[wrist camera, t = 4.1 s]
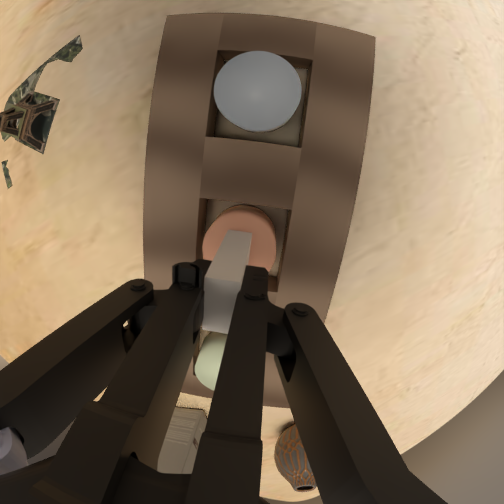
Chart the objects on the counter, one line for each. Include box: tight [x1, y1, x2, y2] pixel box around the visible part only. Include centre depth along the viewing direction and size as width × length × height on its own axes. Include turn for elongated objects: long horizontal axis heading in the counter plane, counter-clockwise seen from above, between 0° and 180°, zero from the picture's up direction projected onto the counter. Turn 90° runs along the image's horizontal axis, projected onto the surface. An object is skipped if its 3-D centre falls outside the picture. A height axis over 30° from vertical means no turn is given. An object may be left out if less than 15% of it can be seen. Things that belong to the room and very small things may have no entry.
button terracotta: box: [202, 205, 276, 272], centre depth 20 cm, size 5×5×3 cm
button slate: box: [214, 51, 302, 133], centre depth 15 cm, size 5×5×3 cm
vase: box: [274, 424, 317, 492], centre depth 26 cm, size 7×7×9 cm
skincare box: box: [157, 407, 207, 474], centre depth 24 cm, size 8×7×16 cm
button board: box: [143, 13, 375, 408], centre depth 20 cm, size 32×14×2 cm, turn 173°
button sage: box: [195, 332, 228, 390], centre depth 22 cm, size 5×5×3 cm
